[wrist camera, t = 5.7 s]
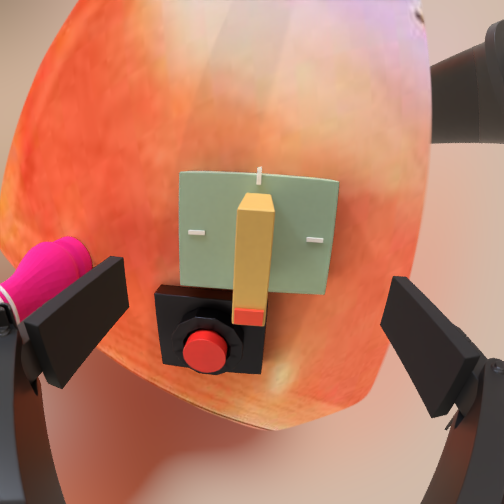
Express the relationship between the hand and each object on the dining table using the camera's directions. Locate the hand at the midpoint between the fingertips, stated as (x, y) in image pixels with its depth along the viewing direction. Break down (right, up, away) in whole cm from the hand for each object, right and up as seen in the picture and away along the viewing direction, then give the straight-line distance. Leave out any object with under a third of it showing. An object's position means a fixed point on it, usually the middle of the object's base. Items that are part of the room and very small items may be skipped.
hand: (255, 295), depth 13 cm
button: (-5, -7, +13) cm, 16 cm away
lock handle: (0, +3, +10) cm, 11 cm away
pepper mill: (-21, +1, +15) cm, 26 cm away
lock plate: (0, +4, +13) cm, 14 cm away
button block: (-4, -6, +17) cm, 18 cm away
